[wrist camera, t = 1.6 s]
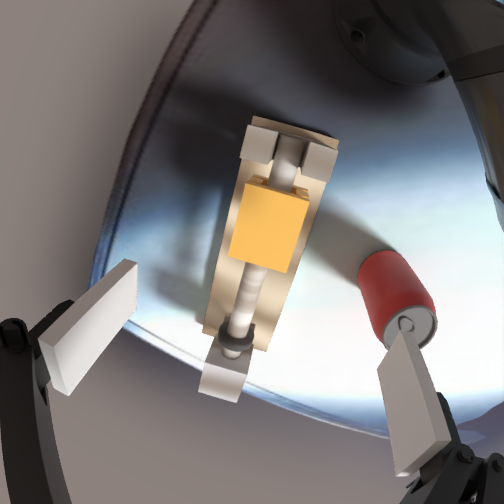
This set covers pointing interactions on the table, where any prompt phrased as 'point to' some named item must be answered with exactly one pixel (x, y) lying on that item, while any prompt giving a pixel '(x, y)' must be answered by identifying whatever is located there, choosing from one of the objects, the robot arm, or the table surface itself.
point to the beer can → (396, 299)
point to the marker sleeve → (268, 224)
